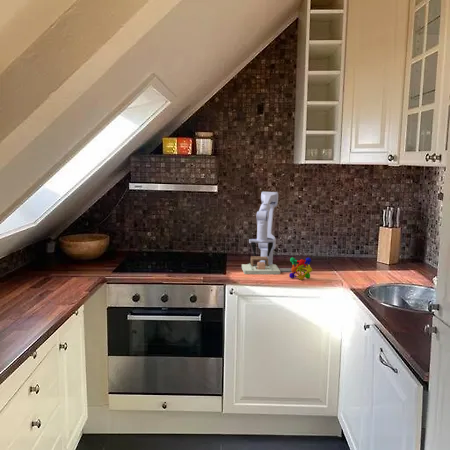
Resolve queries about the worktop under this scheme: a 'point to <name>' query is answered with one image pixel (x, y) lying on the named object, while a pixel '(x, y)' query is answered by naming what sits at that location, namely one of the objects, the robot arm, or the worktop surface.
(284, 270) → the slate pad
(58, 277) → the worktop surface
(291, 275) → the molecular model
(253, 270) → the puzzle board
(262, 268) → the terracotta block
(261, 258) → the walnut cover
